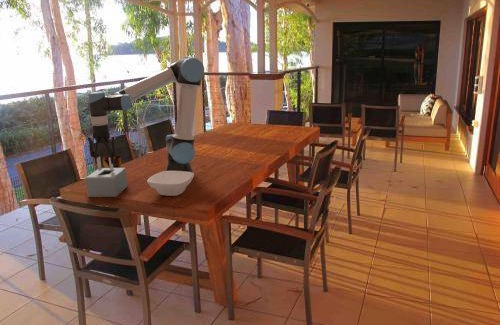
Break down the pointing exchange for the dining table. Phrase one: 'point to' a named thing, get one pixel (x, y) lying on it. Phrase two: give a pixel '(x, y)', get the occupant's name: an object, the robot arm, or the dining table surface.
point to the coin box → (106, 182)
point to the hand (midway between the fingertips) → (105, 169)
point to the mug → (116, 162)
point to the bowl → (170, 182)
